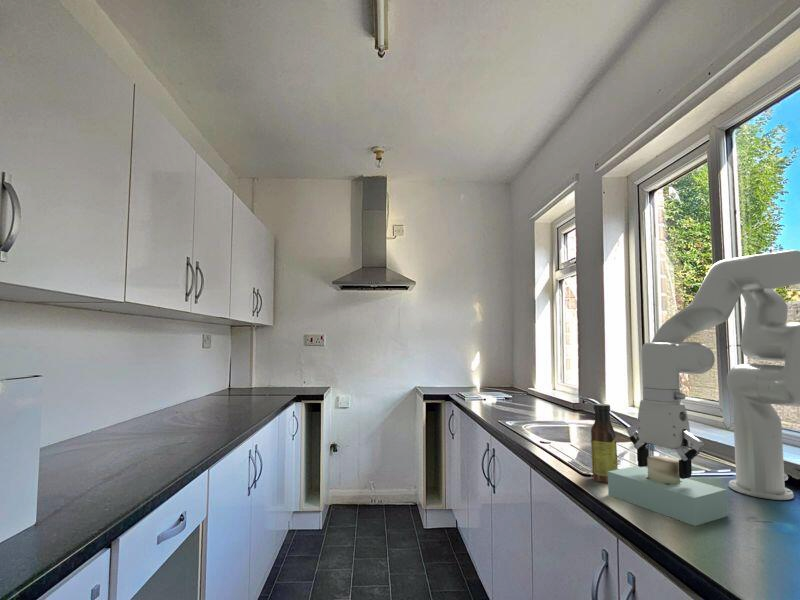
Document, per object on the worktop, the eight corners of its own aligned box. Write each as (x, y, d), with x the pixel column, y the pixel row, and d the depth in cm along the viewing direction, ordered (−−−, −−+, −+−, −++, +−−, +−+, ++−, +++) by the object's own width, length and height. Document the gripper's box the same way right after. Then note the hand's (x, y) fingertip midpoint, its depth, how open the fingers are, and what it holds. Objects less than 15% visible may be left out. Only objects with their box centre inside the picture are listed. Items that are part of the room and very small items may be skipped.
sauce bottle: (622, 484, 117) (621, 406, 118) (599, 484, 116) (597, 406, 118) (609, 476, 123) (607, 402, 125) (587, 476, 123) (586, 402, 125)
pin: (659, 495, 107) (658, 454, 108) (687, 505, 101) (685, 461, 102) (642, 500, 104) (641, 457, 105) (669, 509, 98) (668, 464, 99)
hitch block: (640, 487, 114) (639, 465, 115) (727, 516, 97) (726, 489, 97) (608, 494, 109) (607, 471, 109) (695, 526, 91) (694, 497, 91)
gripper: (710, 399, 99) (713, 480, 97) (636, 391, 114) (638, 460, 113) (690, 401, 95) (693, 485, 94) (617, 392, 110) (618, 464, 109)
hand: (663, 471), depth 103 cm, fingers open, 9 cm apart
